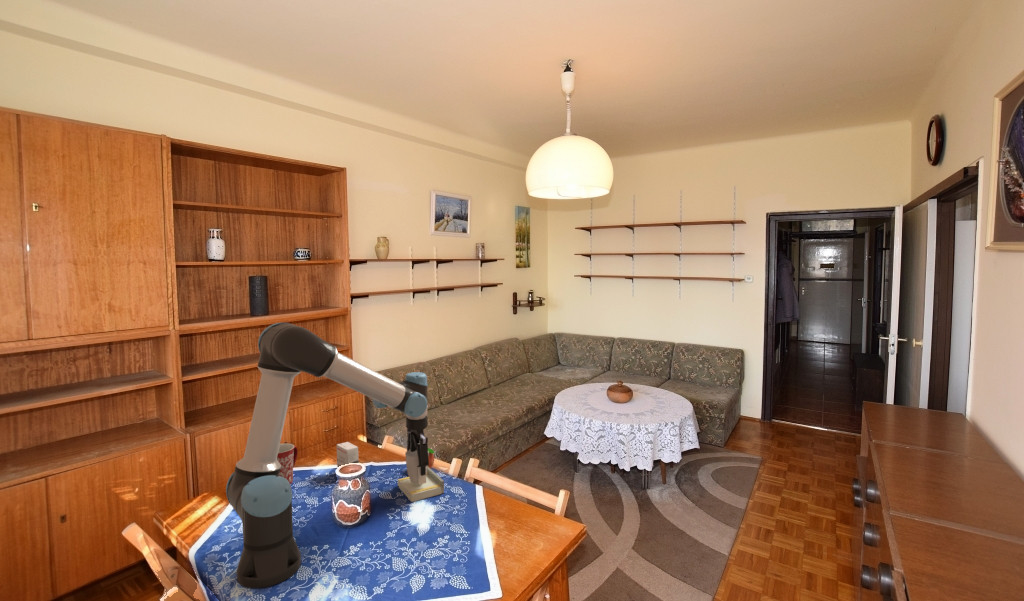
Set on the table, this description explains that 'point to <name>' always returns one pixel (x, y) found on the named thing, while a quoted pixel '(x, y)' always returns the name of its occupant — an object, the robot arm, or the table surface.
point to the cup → (413, 465)
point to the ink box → (347, 454)
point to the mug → (287, 460)
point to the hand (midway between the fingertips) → (417, 478)
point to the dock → (422, 486)
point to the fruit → (431, 457)
